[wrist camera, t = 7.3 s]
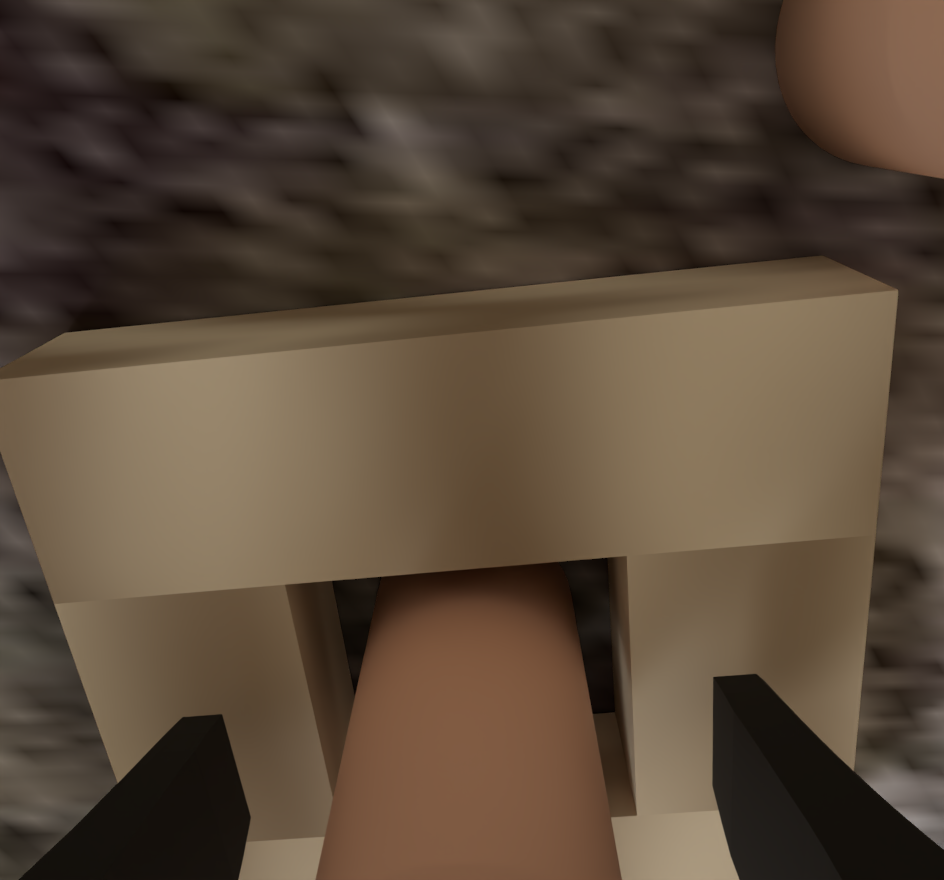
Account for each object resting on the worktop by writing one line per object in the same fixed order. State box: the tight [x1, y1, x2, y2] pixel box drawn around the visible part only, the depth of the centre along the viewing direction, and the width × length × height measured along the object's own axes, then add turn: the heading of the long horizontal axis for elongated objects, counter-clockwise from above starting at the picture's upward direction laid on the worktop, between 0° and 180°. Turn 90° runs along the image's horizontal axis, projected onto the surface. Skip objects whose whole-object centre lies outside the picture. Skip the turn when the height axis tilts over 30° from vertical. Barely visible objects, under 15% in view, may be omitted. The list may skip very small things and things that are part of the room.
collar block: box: [0, 255, 898, 880], centre depth 14 cm, size 12×12×2 cm
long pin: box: [315, 562, 622, 880], centre depth 12 cm, size 4×4×7 cm
